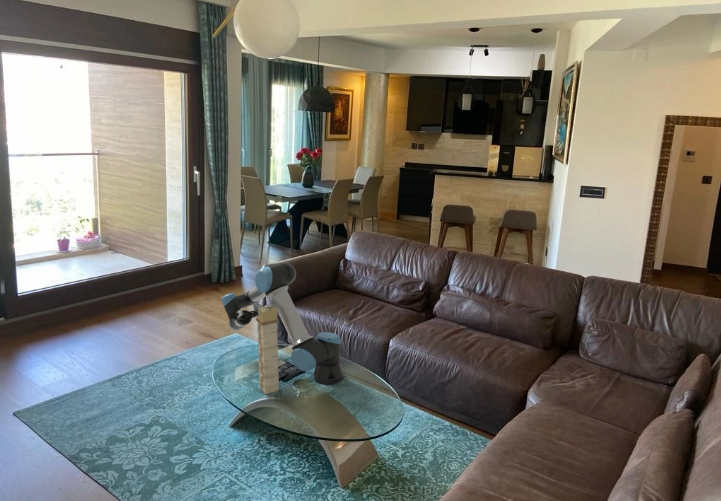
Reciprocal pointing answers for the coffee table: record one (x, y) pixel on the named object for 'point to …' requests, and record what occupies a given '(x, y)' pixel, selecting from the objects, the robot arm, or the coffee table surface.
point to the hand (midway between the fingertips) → (254, 309)
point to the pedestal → (268, 355)
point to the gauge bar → (265, 312)
